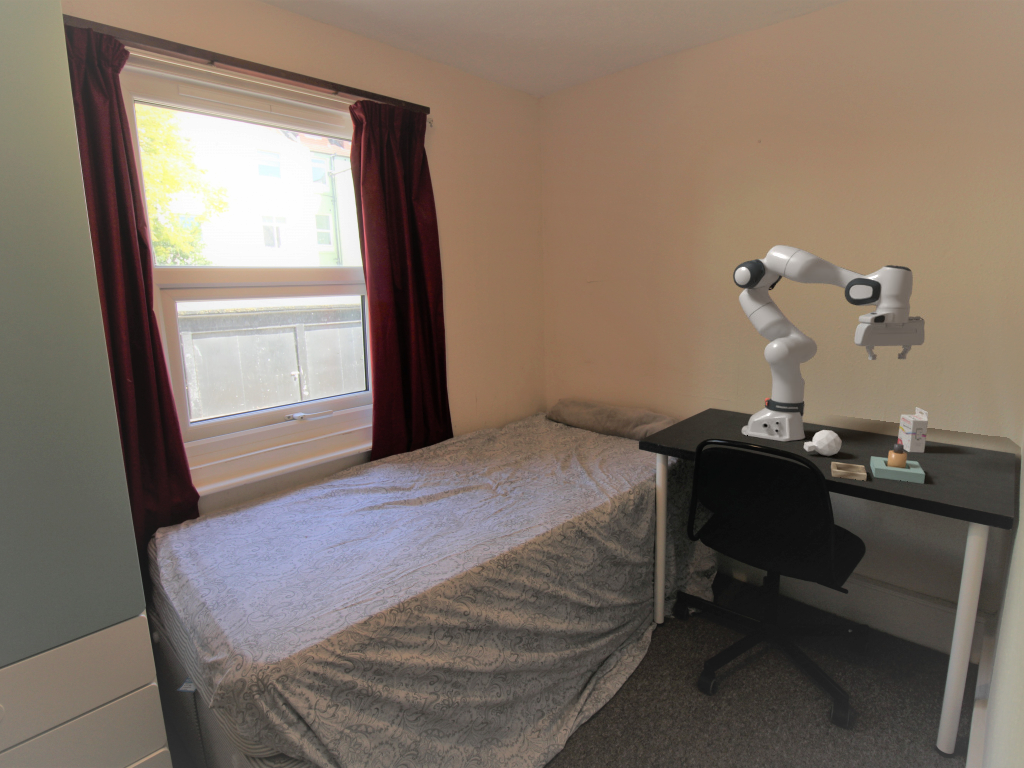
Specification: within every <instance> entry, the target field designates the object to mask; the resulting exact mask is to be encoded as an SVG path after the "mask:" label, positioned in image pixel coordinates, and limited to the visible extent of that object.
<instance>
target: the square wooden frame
mask: <svg viewBox="0 0 1024 768" xmlns="http://www.w3.org/2000/svg"><path fill="white" fill-rule="evenodd" d="M830 462H831V465H830V469H831V471H830V472H831V477H835V478H840V477H841V478H842V479H849V480H855V479H856V481H862V480H864V482H866V481H867V471H866V467H865V465H860V464H854V463H844V462H838V461H837V462H836V461H830Z"/></svg>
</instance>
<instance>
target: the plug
mask: <svg viewBox="0 0 1024 768" xmlns="http://www.w3.org/2000/svg"><path fill="white" fill-rule="evenodd" d="M903 448H904V445H902V444H897V443H893V449H892V450H888V455H887V458H888V463H887V467H896V468H904V469H905V468H906V460H908V452H905V451H904V449H903Z"/></svg>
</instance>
